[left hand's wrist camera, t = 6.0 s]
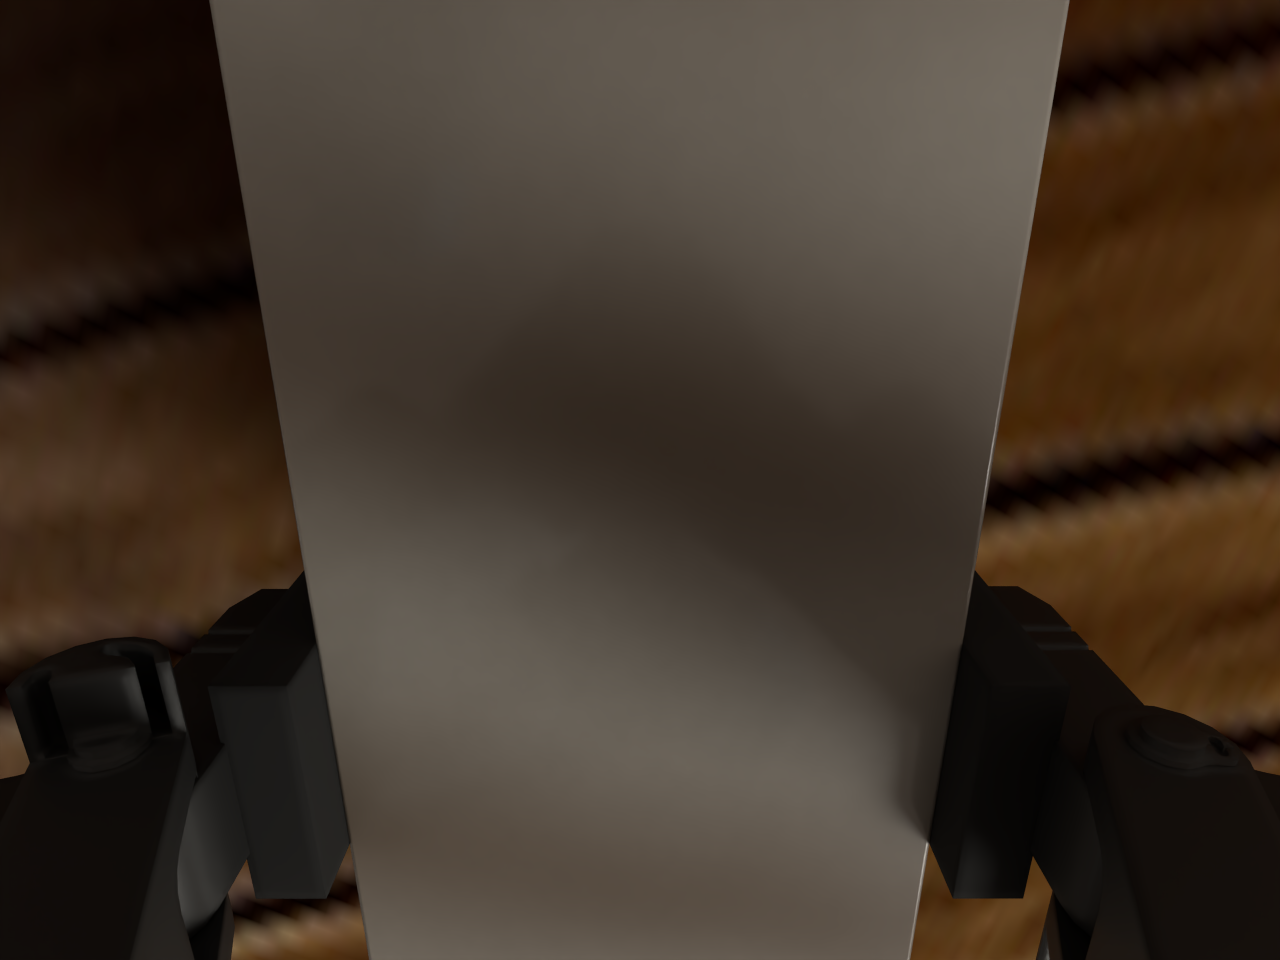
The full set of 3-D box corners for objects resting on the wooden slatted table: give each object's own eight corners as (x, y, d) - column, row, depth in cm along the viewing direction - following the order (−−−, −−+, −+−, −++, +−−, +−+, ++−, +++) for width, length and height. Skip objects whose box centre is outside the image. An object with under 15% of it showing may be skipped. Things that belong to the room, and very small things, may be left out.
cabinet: (446, -255, 14) (-4, -1237, 4) (832, -255, 14) (1281, -1235, 4) (505, 614, 20) (379, 1033, 10) (774, 614, 20) (899, 1033, 10)
